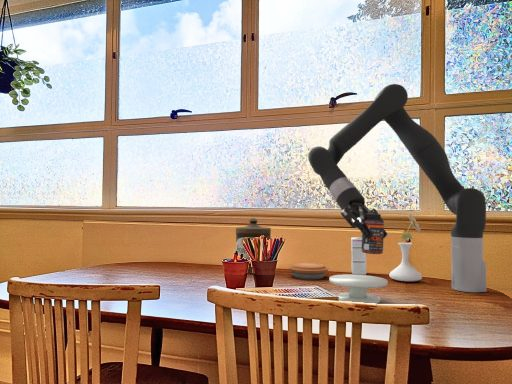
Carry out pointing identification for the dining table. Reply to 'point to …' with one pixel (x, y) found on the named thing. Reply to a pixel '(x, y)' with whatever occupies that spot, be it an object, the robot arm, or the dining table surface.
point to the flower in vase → (406, 259)
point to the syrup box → (358, 257)
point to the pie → (308, 270)
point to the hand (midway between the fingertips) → (377, 236)
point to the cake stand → (358, 287)
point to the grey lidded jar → (250, 232)
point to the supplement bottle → (376, 241)
